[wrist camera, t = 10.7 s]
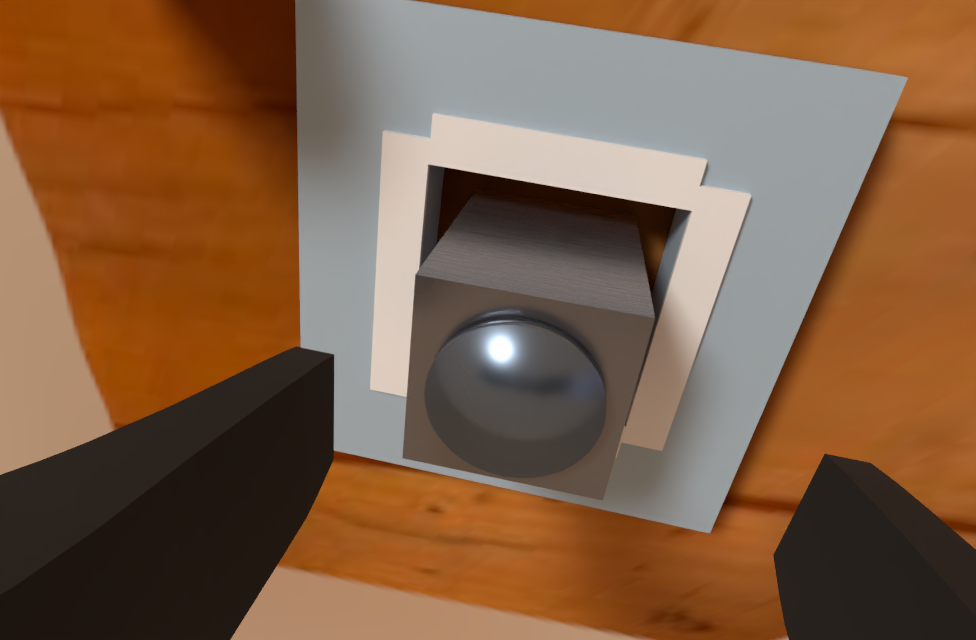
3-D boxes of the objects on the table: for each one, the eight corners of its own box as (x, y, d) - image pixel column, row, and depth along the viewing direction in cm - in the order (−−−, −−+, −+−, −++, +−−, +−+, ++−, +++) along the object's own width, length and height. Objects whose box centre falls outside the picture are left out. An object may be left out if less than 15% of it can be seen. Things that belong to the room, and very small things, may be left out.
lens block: (635, 214, 17) (657, 328, 10) (601, 352, 19) (602, 513, 13) (477, 188, 17) (409, 282, 11) (461, 325, 19) (397, 470, 13)
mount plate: (872, 71, 14) (912, 78, 12) (701, 493, 20) (710, 538, 19) (326, -13, 15) (291, -18, 13) (324, 412, 21) (299, 447, 20)
